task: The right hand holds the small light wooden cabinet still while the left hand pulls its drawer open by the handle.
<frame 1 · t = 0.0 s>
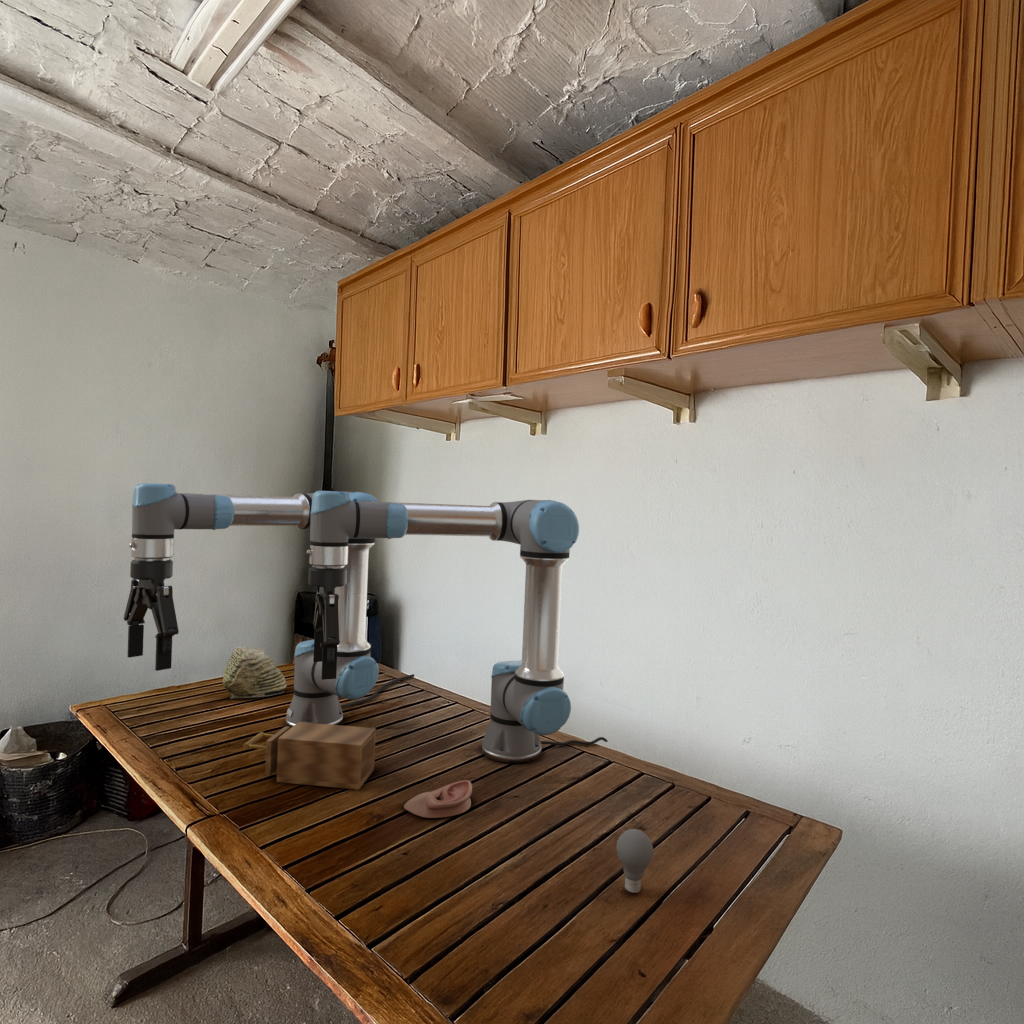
left hand: (148, 662, 129), 28 cm above the table, tool pointing down, fingers open, 13 cm apart
right hand: (324, 669, 130), 28 cm above the table, tool pointing down, fingers open, 13 cm apart
fossil: (254, 694, 198), on the table
anatomical model: (438, 806, 132), on the table
light bulb: (632, 891, 106), on the table
cabinet: (326, 775, 144), on the table
drawer: (299, 751, 144), point 5 cm above the table, slide at 1.8 cm
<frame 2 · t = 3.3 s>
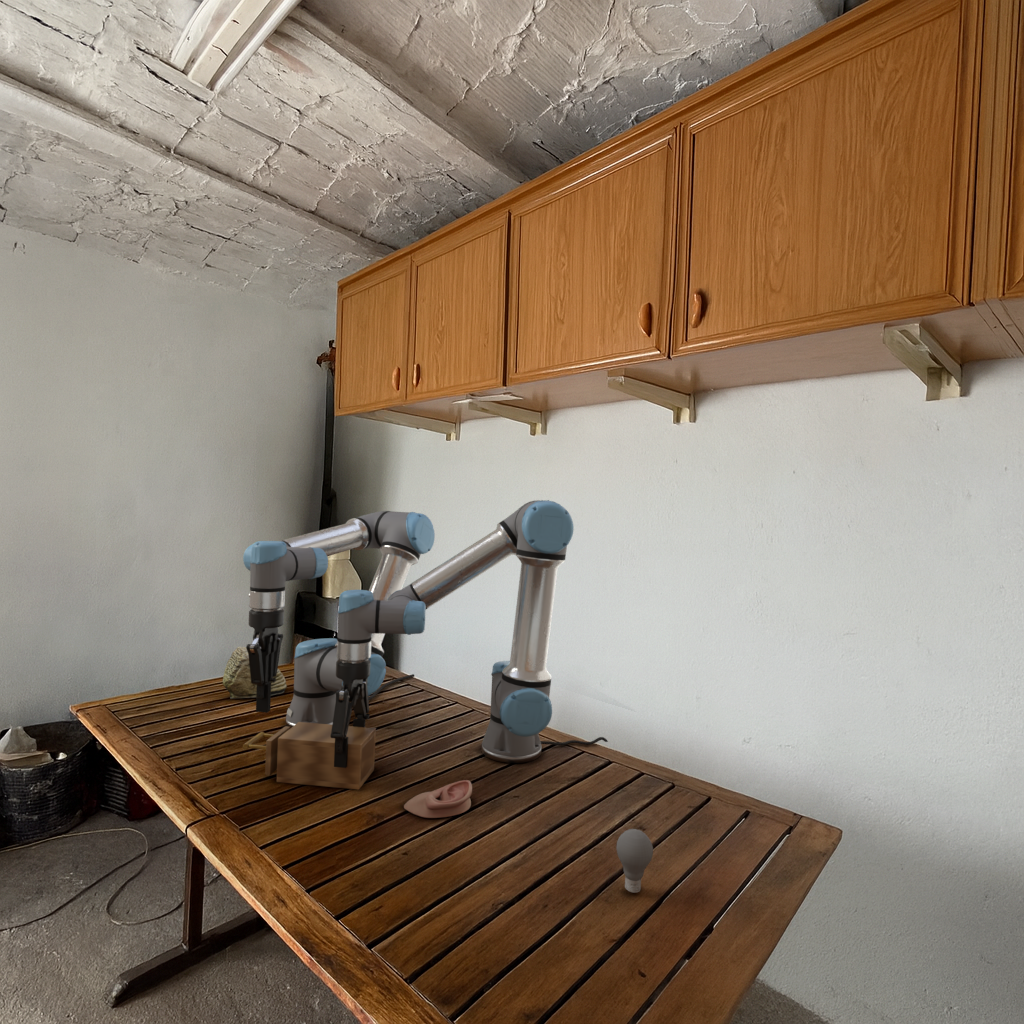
left hand: (263, 711, 145), 14 cm above the table, tool pointing down, fingers closed
right hand: (349, 756, 143), 5 cm above the table, tool pointing down, fingers closed on cabinet, 10 cm apart
cabinet: (326, 775, 144), on the table, touching right hand
everything else where it was.
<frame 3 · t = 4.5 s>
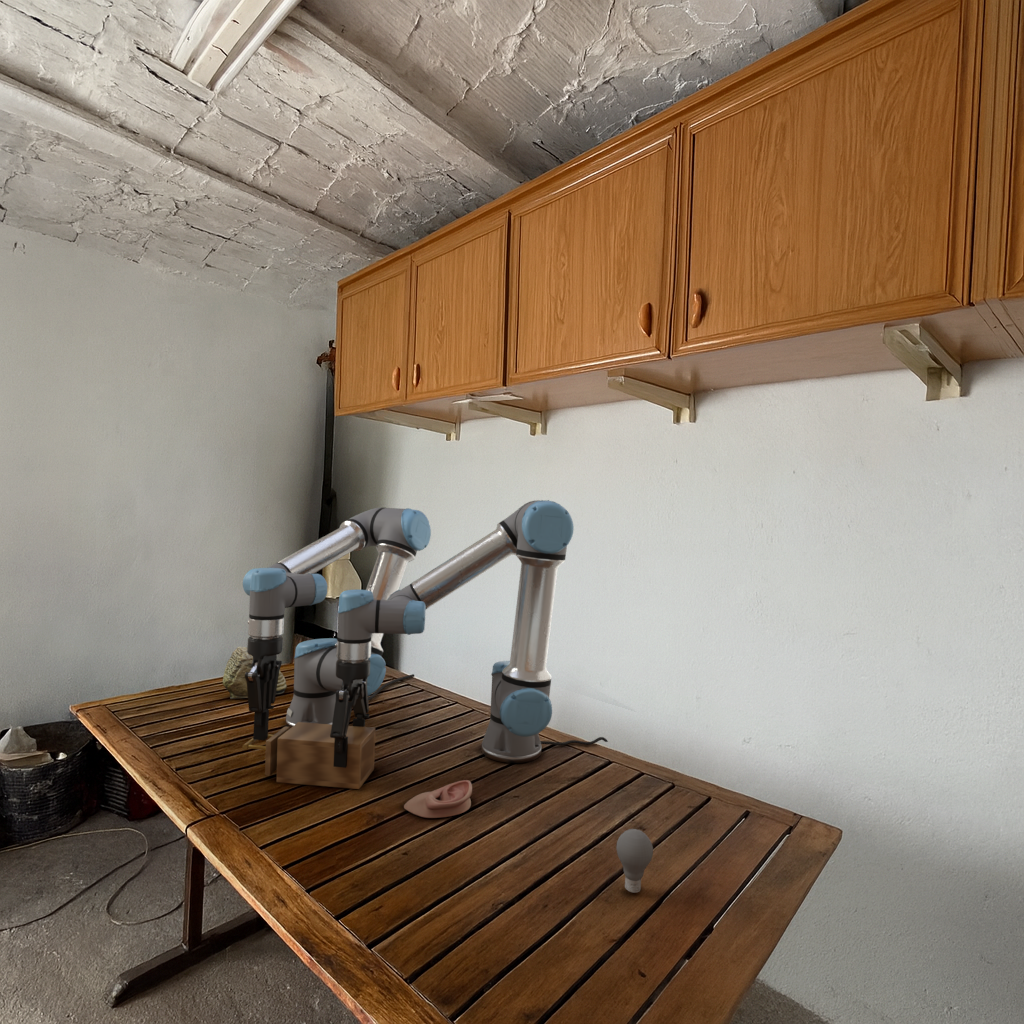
left hand: (260, 738, 145), 7 cm above the table, tool pointing down, fingers closed
right hand: (349, 756, 143), 5 cm above the table, tool pointing down, fingers closed on cabinet, 10 cm apart
cabinet: (326, 775, 144), on the table, touching right hand
drawer: (299, 752, 144), point 5 cm above the table, slide at 1.8 cm, touching left hand
everything else where it was.
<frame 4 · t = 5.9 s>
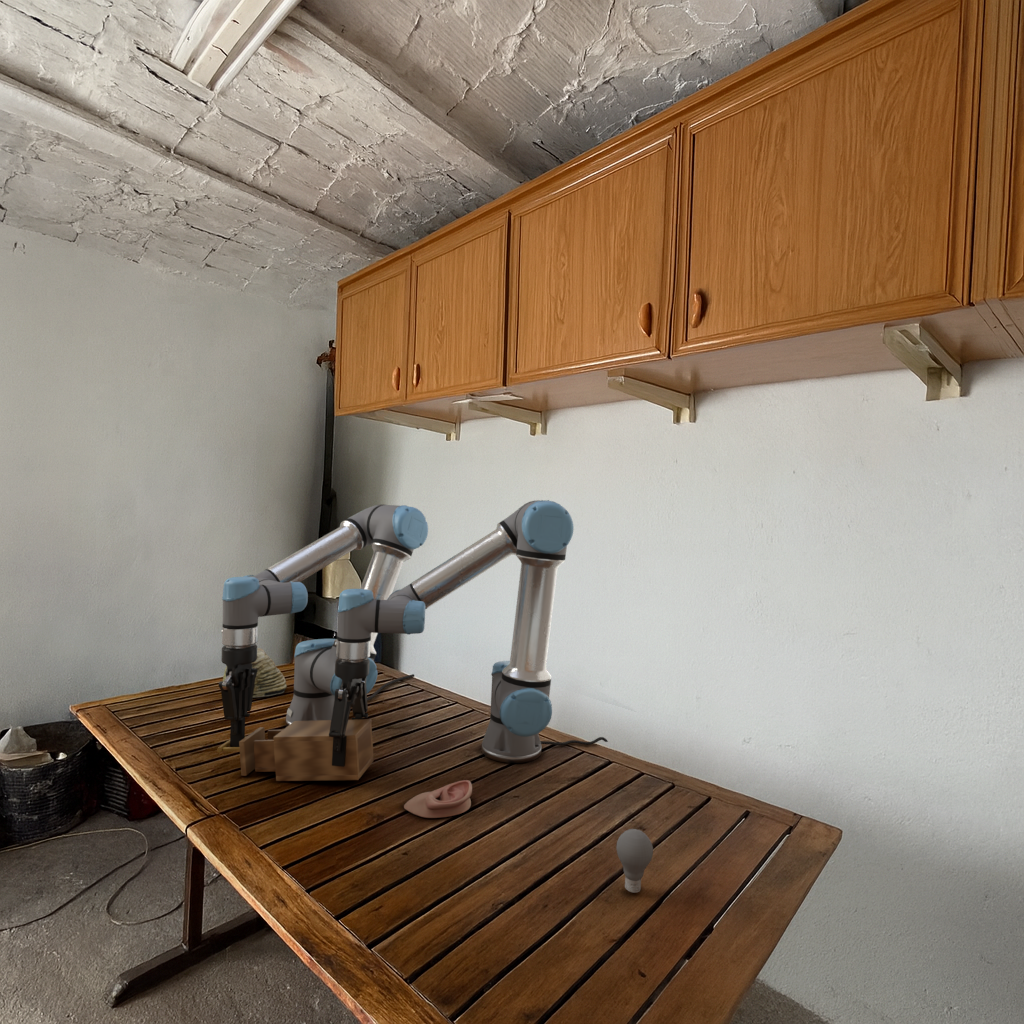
left hand: (237, 746, 146), 5 cm above the table, tool pointing down, fingers closed
right hand: (347, 755, 143), 5 cm above the table, tool pointing down, fingers closed on cabinet, 10 cm apart
cabinet: (326, 770, 144), point 1 cm above the table, tilted 6°, touching right hand
drawer: (274, 750, 145), point 5 cm above the table, slide at 7.2 cm, touching left hand
everything else where it was.
when the right hand's fingers open (5 cm above the table, at t = 7.6 s): cabinet stays where it is, on the table.
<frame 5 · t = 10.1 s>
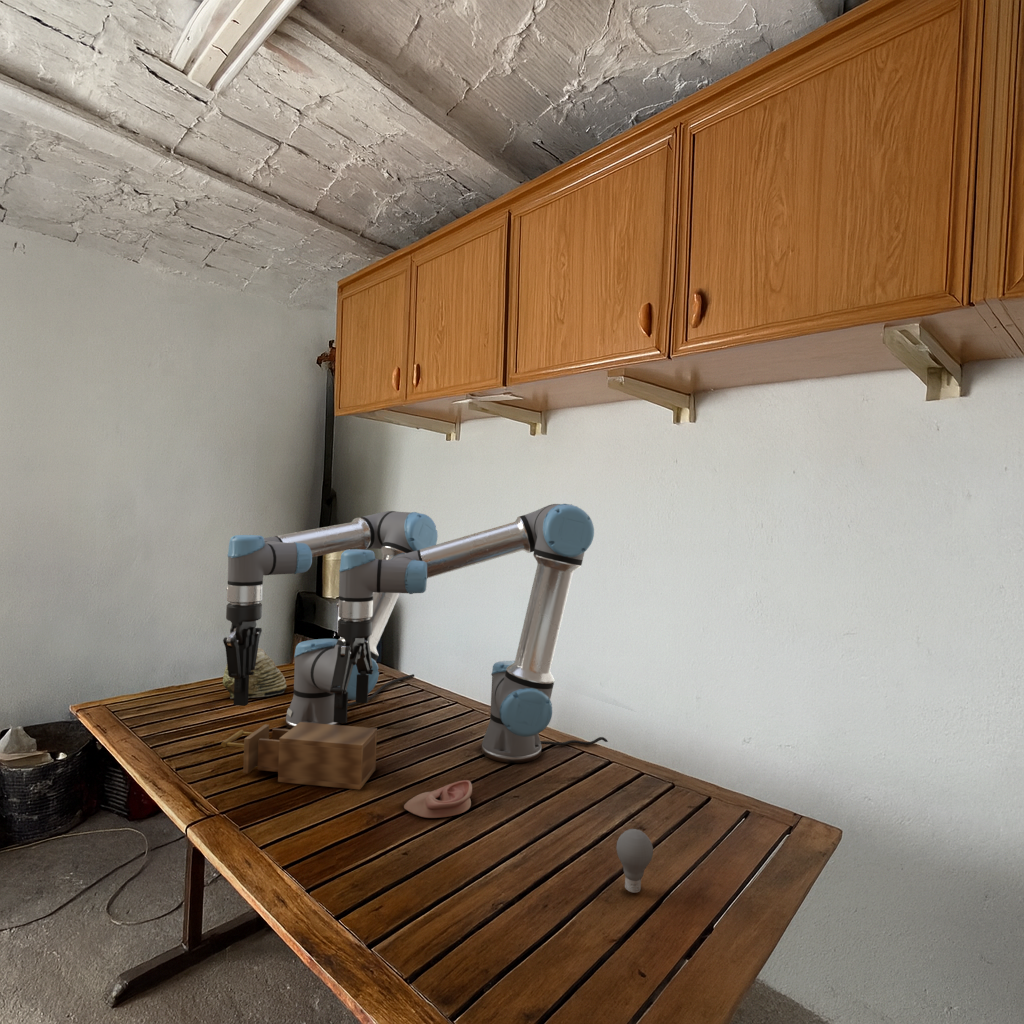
left hand: (240, 704, 146), 15 cm above the table, tool pointing down, fingers closed
right hand: (351, 712, 143), 15 cm above the table, tool pointing down, fingers open, 13 cm apart
cabinet: (328, 775, 144), on the table
drawer: (278, 749, 145), point 5 cm above the table, slide at 7.3 cm
everything else where it was.
at the end: drawer slide at 7.3 cm; cabinet tilted 0°; cabinet never tilted more than 8° during the clip; cabinet moved 0.3 cm from its start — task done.
